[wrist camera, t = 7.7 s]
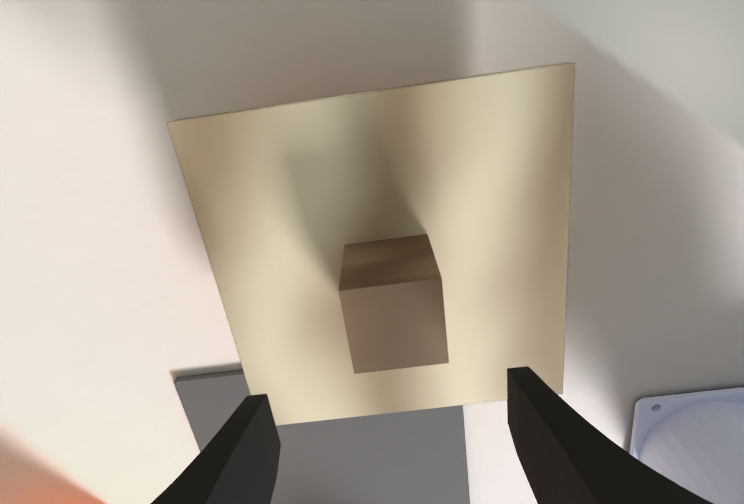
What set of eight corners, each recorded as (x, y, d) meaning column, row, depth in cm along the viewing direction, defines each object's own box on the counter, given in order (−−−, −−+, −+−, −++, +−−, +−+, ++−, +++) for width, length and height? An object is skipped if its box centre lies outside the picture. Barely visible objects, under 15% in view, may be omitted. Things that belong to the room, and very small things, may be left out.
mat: (457, 344, 25) (458, 349, 25) (471, 536, 31) (472, 542, 31) (176, 377, 26) (173, 382, 26) (245, 557, 32) (244, 563, 32)
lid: (564, 62, 15) (636, 65, 11) (555, 381, 20) (601, 462, 16) (176, 119, 15) (109, 142, 11) (264, 413, 21) (239, 499, 17)
